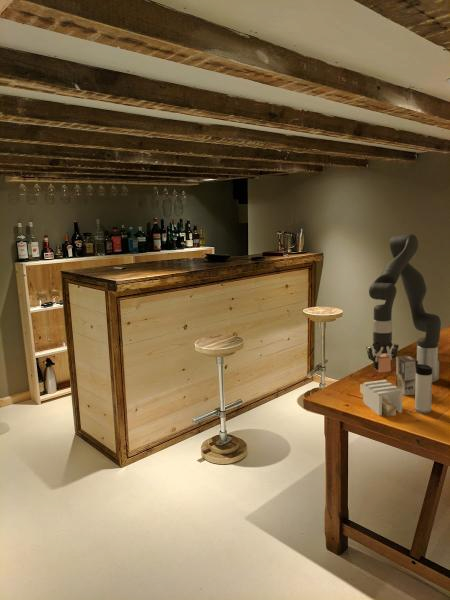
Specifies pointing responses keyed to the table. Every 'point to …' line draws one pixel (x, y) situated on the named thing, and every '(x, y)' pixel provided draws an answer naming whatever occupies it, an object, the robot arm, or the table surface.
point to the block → (384, 363)
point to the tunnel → (377, 390)
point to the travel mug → (423, 388)
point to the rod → (384, 405)
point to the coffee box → (406, 374)
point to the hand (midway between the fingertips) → (382, 368)
